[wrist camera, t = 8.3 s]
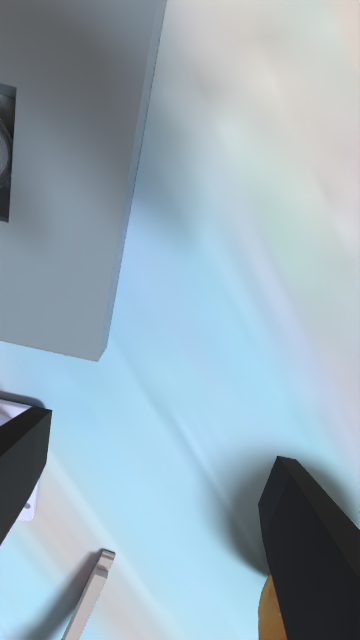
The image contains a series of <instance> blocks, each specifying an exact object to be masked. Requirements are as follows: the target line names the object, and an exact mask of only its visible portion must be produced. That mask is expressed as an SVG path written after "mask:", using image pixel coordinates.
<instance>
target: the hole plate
mask: <svg viewBox="0 0 360 640" xmlns="http://www.w3.org/2000/svg"><path fill="white" fill-rule="evenodd" d="M165 6H166V0H0V94H2V95H6V96H10V97H14V98H16V107H15V123H14V140H13V157H12V174H11V190H10V207H9V218H8V217H4V216H0V341H3V342H8V343H13V344H17V345H22V346H26V347H31V348H36V349H40V350H45V351H49V352H54V353H59V354H63V355H68V356H72V357H77V358H82V359H86V360H91V361H95V362H98V360H99V359H100V357H101V356H102V354H103V352H104V351H105V349H106V347H107V342H108V336H109V330H110V324H111V318H112V313H113V307H114V301H115V295H116V289H117V284H118V278H119V272H120V266H121V261H122V255H123V249H124V243H125V237H126V232H127V226H128V220H129V214H130V208H131V203H132V197H133V191H134V185H135V179H136V174H137V168H138V162H139V156H140V151H141V145H142V139H143V133H144V127H145V122H146V116H147V110H148V104H149V98H150V93H151V87H152V81H153V75H154V69H155V64H156V58H157V52H158V46H159V41H160V35H161V29H162V23H163V17H164V12H165Z"/></svg>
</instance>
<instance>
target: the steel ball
mask: <svg viewBox="0 0 360 640" xmlns="http://www.w3.org/2000/svg"><path fill="white" fill-rule="evenodd" d="M12 157H13V140H12V137H11V135H10V133H9V131H8V129H7V128H6V126H5V124H4V123H3V122H2V120H1V119H0V188H1V187H3V186H4V185H5V184H6V183H7V182H8V181H9V179H10V178H11V174H12Z"/></svg>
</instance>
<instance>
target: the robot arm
mask: <svg viewBox="0 0 360 640" xmlns="http://www.w3.org/2000/svg"><path fill="white" fill-rule="evenodd" d="M51 416H52V410H49V409H44V408H39V407H34V406H29V405H24V404H20V403H15V402H10V401H5V400H0V549H1V547H2V545H3V544H4V542H5V540H6V538H7V536H8V535H9V533H10V531H11V529H12V528H13V526H14V524H15V522H16V520H17V519H18V520H23V521H30V520H31V519H32V518H33V516H34V514H35V509H36V500H37V491H38V483H39V478H40V475H41V473H42V471H43V469H44V467H45V465H46V461H47V452H48V443H49V434H50V425H51ZM258 506H259V515H260V524H261V531H262V538H263V543H264V547H265V551H266V556H267V560H268V564H269V568H270V572H271V576H272V580H273V584H274V588H275V592H276V596H277V600H278V604H279V608H280V612H281V616H282V620H283V625H284V629H285V633H286V637H287V640H360V530H359V529H358V528H357V527H356V526H355V525H354V523H353V522H352V521H351V520H350V519H349V518H348V517H347V516H346V515H345V514H344V512H343V511H342V510H341V509H340V508H339V507H338V506H337V505H336V504H335V502H334V501H333V500H332V499H331V498H330V497H329V496H328V495H327V493H326V492H325V491H324V490H323V489H322V488H321V487H320V485H319V484H318V483H317V482H316V481H315V480H314V479H313V478H312V476H311V475H310V474H309V473H308V472H307V471H306V470H305V469H304V468H303V466H302V465H301V464H300V463H299V462H298V461H297V460H296V459H291V458H286V457H281V456H277V458H276V460H275V463H274V465H273V468H272V471H271V473H270V476H269V478H268V481H267V483H266V486H265V488H264V491H263V493H262V496H261V498H260V501H259V504H258Z"/></svg>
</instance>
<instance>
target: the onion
mask: <svg viewBox="0 0 360 640" xmlns="http://www.w3.org/2000/svg"><path fill="white" fill-rule="evenodd" d="M258 618H259V622H258V633H259V640H287V637H286V633H285V629H284V625H283V620H282V616H281V612H280V608H279V604H278V600H277V596H276V592H275V588H274V584H273V580H272V576H271V573H270V575H269V577H268V578H267V580H266V582H265V585H264V587H263V590H262V592H261V597H260V601H259V607H258Z"/></svg>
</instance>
